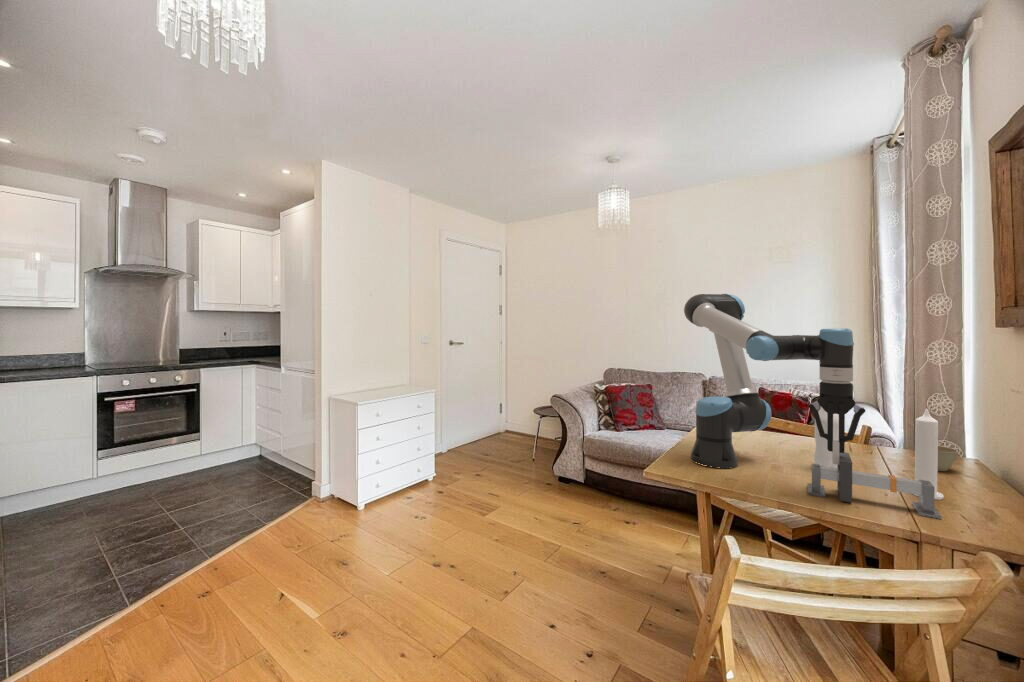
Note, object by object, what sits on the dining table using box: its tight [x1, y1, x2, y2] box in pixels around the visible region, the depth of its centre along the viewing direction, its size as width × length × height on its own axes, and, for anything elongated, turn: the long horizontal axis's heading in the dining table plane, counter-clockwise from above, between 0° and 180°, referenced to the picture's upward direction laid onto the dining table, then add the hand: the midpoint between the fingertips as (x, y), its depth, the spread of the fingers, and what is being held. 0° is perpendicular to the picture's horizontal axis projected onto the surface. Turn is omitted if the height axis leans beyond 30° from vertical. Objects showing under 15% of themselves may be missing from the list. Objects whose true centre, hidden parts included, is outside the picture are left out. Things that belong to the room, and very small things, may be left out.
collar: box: [836, 451, 853, 503], centre depth 114 cm, size 2×11×11 cm, turn 144°
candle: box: [912, 408, 945, 501], centre depth 114 cm, size 7×7×25 cm
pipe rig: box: [806, 463, 942, 520], centre depth 111 cm, size 27×8×8 cm, turn 54°
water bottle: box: [813, 406, 839, 468], centre depth 135 cm, size 7×7×25 cm
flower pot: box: [937, 445, 959, 472], centre depth 136 cm, size 10×10×7 cm
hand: (835, 462), depth 115 cm, fingers closed
